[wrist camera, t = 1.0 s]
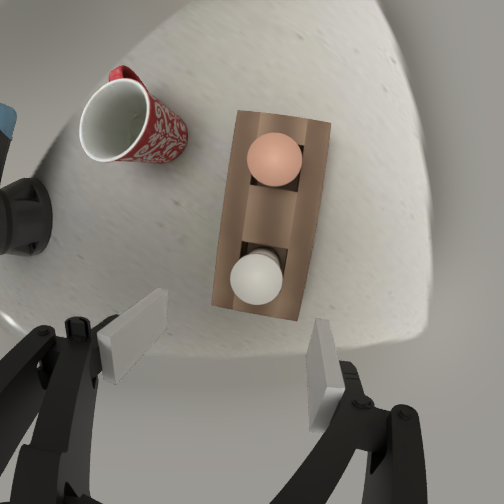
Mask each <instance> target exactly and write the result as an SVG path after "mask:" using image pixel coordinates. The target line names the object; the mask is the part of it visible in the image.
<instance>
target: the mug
mask: <svg viewBox="0 0 504 504" xmlns="http://www.w3.org/2000/svg"><path fill="white" fill-rule="evenodd" d="M79 135H80V141H81V145H82V147H83V149H84V151H85V153H86V154H87V155H88V156H89V157H90V158H92V159H93V160H95V161H98V162H113V161H134V162H153V163H165V162H169V161H172V160H174V159H175V158H177V157H178V156H179V155H180V154H181V152H182V151H183V150H184V148H185V145H186V143H187V137H188V133H187V128H186V125H185V123H184V122H183V121H182V119H181V118H180V117H178V116H177V115H176V114H175V113H173V112H172V111H171V110H170V109H168V108H167V107H166V106H165V105H163V104H162V103H161V102H160V101H159V100H158V99H156V98H155V97H154V96H153V95H151V94H150V93H149V92H148V90H147V89H146V87H145V86H144V84H143V83H142V81H141V80H140V78H139V77H138V76H137V75H136V74H135V73H134V72H133V71H132V70H131V69H130V68H128V67H127V66H119V67H117V68H116V69H114V70H113V71H111V73H110V74H109V83H107V84H105V85H104V86H102V87H101V88H100V89H99V90H98V91H97V92H96V93H95V94H94V95H93V96H92V97H91V98H90V100H89V101H88V103H87V105H86V107H85V109H84V111H83V114H82V116H81V121H80V127H79Z"/></svg>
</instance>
